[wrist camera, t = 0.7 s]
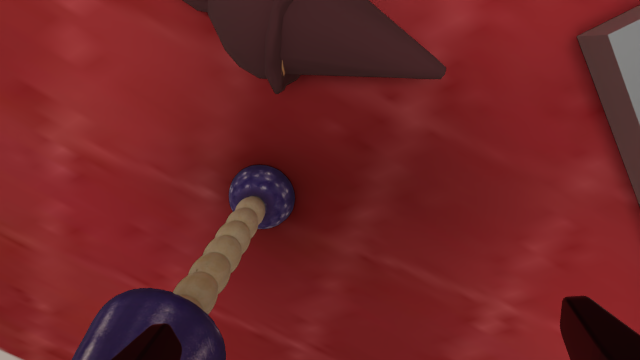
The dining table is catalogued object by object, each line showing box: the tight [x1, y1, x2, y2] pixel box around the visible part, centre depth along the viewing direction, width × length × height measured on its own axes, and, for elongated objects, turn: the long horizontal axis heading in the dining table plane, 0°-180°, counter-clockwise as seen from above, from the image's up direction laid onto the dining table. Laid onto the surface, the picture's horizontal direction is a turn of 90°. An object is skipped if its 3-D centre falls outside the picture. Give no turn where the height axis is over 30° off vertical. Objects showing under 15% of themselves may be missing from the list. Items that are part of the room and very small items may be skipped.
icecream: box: [183, 0, 446, 94], centre depth 19 cm, size 7×7×15 cm
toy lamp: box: [72, 165, 295, 360], centre depth 18 cm, size 5×5×17 cm
